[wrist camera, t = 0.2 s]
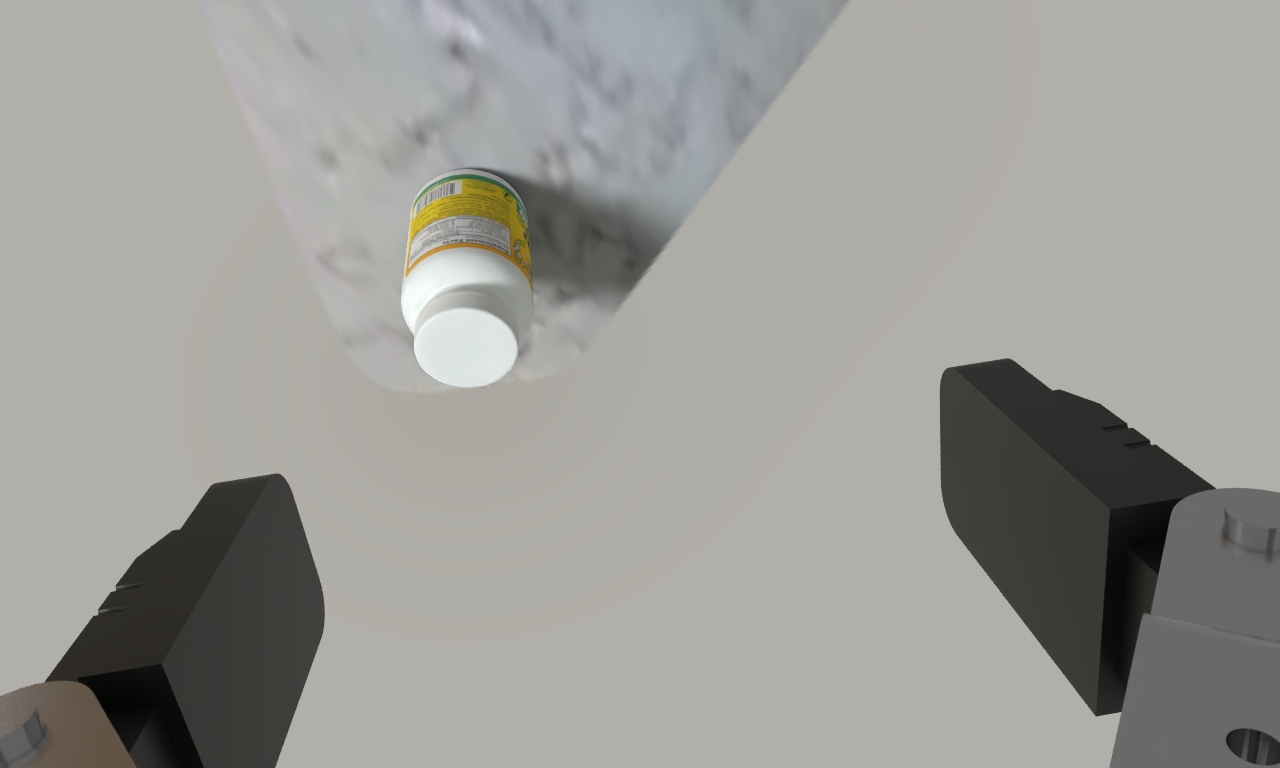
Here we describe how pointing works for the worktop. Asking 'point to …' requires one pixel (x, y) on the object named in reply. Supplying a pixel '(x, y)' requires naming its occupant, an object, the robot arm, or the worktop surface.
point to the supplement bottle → (467, 277)
